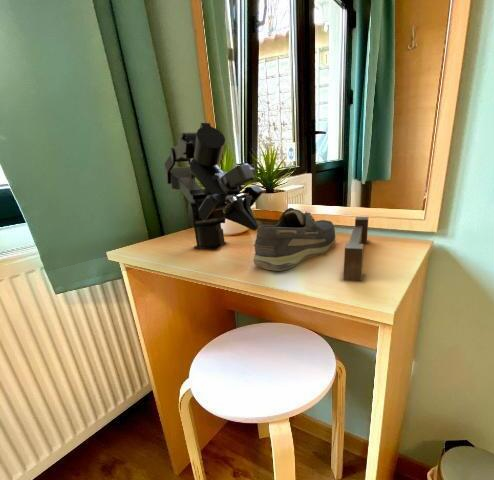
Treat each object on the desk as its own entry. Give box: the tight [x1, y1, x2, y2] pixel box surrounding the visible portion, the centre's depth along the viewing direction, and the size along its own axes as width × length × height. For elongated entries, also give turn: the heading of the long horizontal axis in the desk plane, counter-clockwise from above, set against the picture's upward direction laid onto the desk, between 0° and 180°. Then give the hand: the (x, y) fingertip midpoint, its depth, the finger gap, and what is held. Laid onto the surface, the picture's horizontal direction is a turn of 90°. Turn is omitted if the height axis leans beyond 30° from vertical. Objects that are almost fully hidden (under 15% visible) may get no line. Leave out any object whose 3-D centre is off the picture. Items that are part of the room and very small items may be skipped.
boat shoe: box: [253, 207, 337, 272], centre depth 71 cm, size 11×29×11 cm, turn 148°
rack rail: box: [343, 216, 369, 282], centre depth 68 cm, size 3×28×6 cm, turn 164°
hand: (256, 228), depth 70 cm, fingers closed
